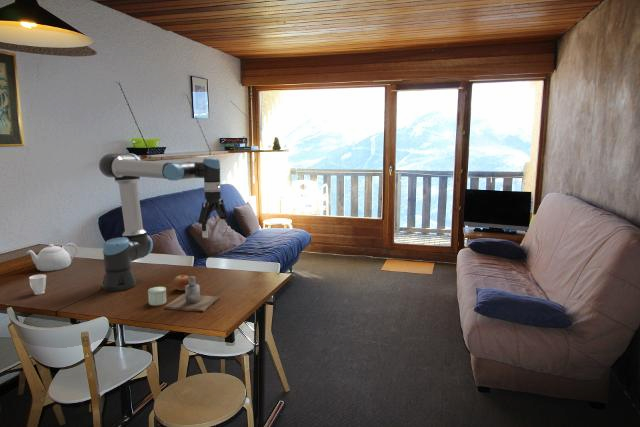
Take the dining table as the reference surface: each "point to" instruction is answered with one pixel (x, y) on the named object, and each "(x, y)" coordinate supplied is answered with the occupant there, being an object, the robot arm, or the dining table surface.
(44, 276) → the cup
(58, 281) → the dining table surface
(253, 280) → the dining table surface
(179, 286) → the apple
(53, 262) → the teapot
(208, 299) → the bottle on square board
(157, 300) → the cap
